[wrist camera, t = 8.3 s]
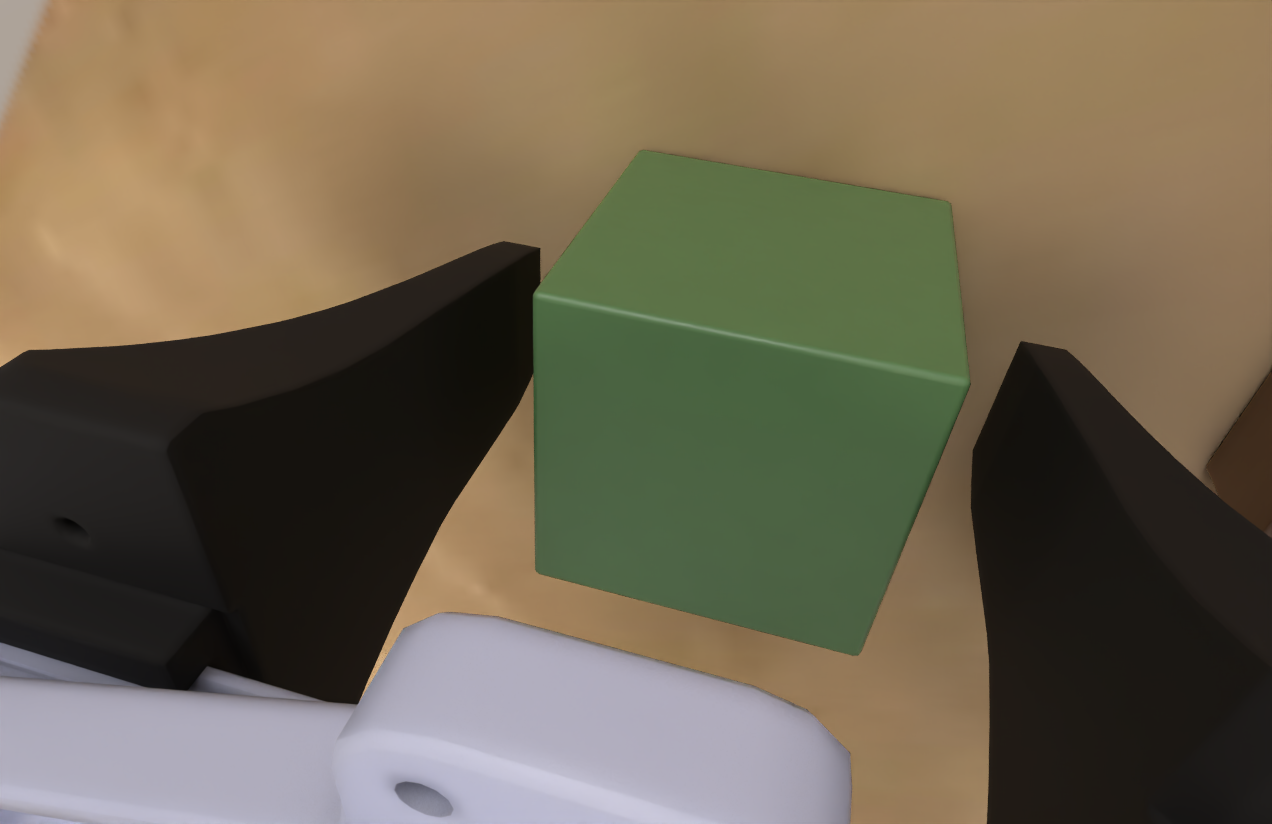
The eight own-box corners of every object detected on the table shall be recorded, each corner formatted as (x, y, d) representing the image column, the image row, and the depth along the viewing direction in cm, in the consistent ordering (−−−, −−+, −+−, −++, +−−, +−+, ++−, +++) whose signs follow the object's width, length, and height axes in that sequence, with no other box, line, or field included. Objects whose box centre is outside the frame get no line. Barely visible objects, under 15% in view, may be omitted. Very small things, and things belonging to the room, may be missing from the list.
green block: (953, 200, 11) (974, 382, 8) (871, 446, 14) (859, 660, 11) (638, 146, 12) (529, 291, 9) (620, 390, 15) (532, 575, 12)
